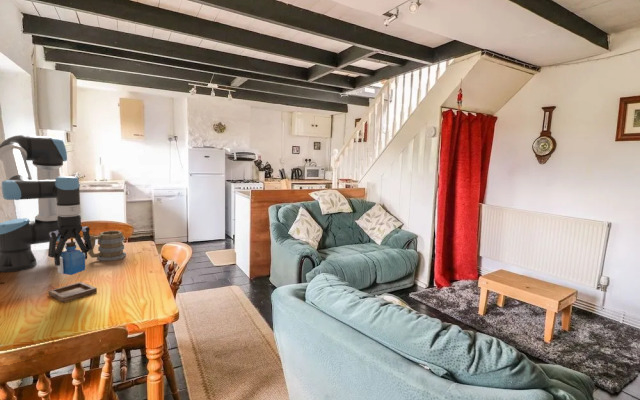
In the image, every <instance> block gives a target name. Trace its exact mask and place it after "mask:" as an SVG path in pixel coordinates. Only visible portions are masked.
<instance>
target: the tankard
mask: <svg viewBox="0 0 640 400" xmlns="http://www.w3.org/2000/svg"><path fill="white" fill-rule="evenodd" d="M89 235H90V240H91V245H92V249H91V250H89V251H88V252H87V255H89V257H90V258H91V259H93V258H95V259H96V258H97V260H100V262H101V261H102V262H105V261H108V262H111V261H117V260H118V261H119V260H122V259H123V258H125V257H126V256H127V253H126V252H124V249H125V244H124V243H123V242H124V240H125V236H124V235H123V231H120V230H107V231H102V232H99V234H98V235H96V236H95V235H91V234H89ZM81 239H82V240H84V236H83V237H82V236H81ZM96 240H97V243H98V244H99V246H98V247H97V248H98V250H97V251H98V252H97V253H94V248H95V245H96Z"/></svg>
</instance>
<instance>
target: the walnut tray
mask: <svg viewBox="0 0 640 400" xmlns="http://www.w3.org/2000/svg"><path fill="white" fill-rule="evenodd" d="M97 290H98V288H97V287H95V286H92V285H90V284H89V283H86V282H83V281H78V282H75V283H70V284H68V285H65V286H60V287H58V288H54V289H50V290H48V296H50V297H51V298H53V299H54V300H57V301H59V302H61V303H63V304H65V303H68V302H71V300H72V301H75V300H78V299H80V298H84V297H88V296H91V295H93V294H96V293H97V292H98V291H97Z"/></svg>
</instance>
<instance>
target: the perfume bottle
mask: <svg viewBox="0 0 640 400" xmlns="http://www.w3.org/2000/svg"><path fill="white" fill-rule="evenodd" d="M76 244H77V242H76V241H70V242H66V243H65V250H63V251H62V253H61V256H60V257H63V275H70V276H73V275H75V274H78V273H80V272H84V271H86V268H85V266H86V259H85V255H84V254H83V253H82V251H81V249H80V250H79V249H77V245H76Z"/></svg>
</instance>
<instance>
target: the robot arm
mask: <svg viewBox="0 0 640 400" xmlns="http://www.w3.org/2000/svg"><path fill="white" fill-rule="evenodd" d="M67 153H68V151H67V148H66V145H65V142H64V140H63V139H62V138H61V137H55V136H49V135H48V136H45V135H43V136H42V135H25V134H19V135H13V136H11V137H8V138H6V139H5V140H3V141H2V142H1V143H0V161H1V162H2V165H3V168H4V174H5V178H6V180H2V182H1V194H2V198H3V199H4V200H7V201H9V200H10V201H12V200H13V201H14V200H15V201H20V200H21V201H22V200H37V201H38V202H37V205H38V206H37V207H38V214H37V215H36V216H34V220H30V219H29V218H27V217H26V218H15V219H10V220H5V221H2V222H0V272H1V273H11V272H18V271H25V270H28V269H31V268H34V267H35V266H37V264H38V263H37V258H36V256H35V255H34V253H33V251H32V245H38V244H39V245H40V244H45V243H46V244H47V243H48V255H47V256H48V257H50V258H54V259H53V260H54V265H55V266H56V267H57V273H58V274H61V275H62V274H63V257H60V256H61V253H62V252H64V248H65V246H66V243H67V241H68V240H69V239H71V238H74V240H75V242H76V244H77V245H78V247H79V249H80V251H81V252H82V253H83V254H84V255H85V260H87V259H88V251H89V250H91V249H92V245H91V240H90V235H91V234H90V229H91V228H90V227H89V226H83V225H82V215H80V214H81V211H82V210H81V197H80V195H81V194H80V187H81V186H80V185H81V184H80V179H79V178H78V177H77V176H72V175H71V176H70V175H69V176H68V175H65V176H64V175H63V176H62V175H60V168H62V167H63V166H64V162H67V161H68V154H67ZM28 161H31V162H32V165H33V166H34V167H36V177H37V179H33V178H32V174H31V172H30V168H29V165H28ZM81 232H82V235H83V237H84V239H83V238H82V236H81V234H80V233H81ZM86 267H87V266H86V265H85V269H86ZM63 275H64V274H63Z"/></svg>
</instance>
